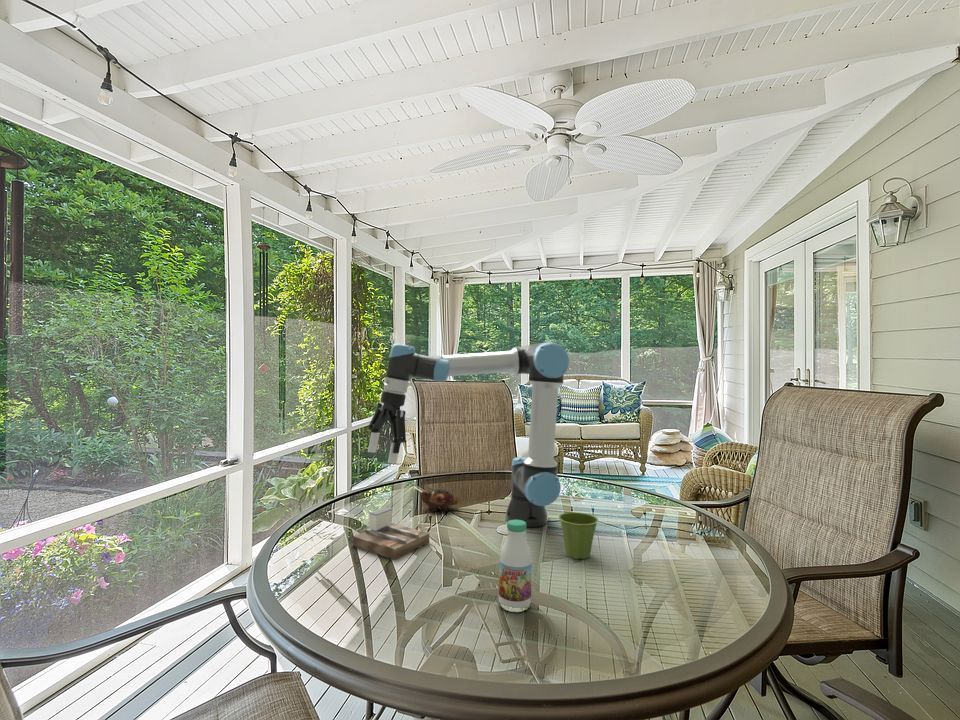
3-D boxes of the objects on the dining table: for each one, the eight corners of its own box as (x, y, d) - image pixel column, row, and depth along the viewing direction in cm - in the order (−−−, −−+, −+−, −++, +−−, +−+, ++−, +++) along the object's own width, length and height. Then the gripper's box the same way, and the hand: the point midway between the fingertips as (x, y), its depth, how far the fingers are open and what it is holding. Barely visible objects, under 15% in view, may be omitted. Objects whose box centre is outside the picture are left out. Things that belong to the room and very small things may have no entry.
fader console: (429, 542, 156) (429, 530, 155) (394, 559, 142) (394, 545, 142) (389, 531, 165) (389, 519, 165) (353, 546, 151) (353, 533, 151)
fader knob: (391, 529, 158) (392, 508, 158) (375, 535, 152) (376, 514, 152) (384, 527, 160) (384, 507, 160) (368, 533, 154) (369, 512, 154)
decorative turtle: (415, 508, 190) (417, 487, 191) (452, 506, 197) (453, 486, 197) (424, 514, 182) (425, 492, 182) (461, 512, 188) (463, 491, 189)
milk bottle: (496, 597, 121) (498, 516, 121) (527, 597, 122) (529, 516, 122) (500, 614, 113) (502, 527, 113) (533, 613, 114) (536, 527, 114)
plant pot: (599, 550, 153) (600, 514, 153) (595, 565, 141) (596, 526, 141) (561, 545, 157) (562, 509, 156) (554, 559, 145) (555, 521, 145)
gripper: (366, 385, 165) (353, 447, 164) (404, 396, 145) (390, 467, 145) (386, 387, 169) (373, 448, 169) (425, 399, 150) (411, 468, 150)
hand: (381, 457), depth 157 cm, fingers open, 13 cm apart
